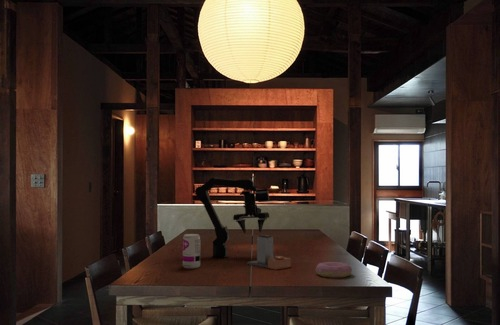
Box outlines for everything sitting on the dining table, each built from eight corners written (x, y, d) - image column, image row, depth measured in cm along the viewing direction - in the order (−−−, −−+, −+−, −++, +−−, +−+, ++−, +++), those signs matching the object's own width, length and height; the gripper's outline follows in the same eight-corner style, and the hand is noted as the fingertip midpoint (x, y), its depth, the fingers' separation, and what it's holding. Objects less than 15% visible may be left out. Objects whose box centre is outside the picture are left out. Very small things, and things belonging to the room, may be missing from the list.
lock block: (256, 262, 241) (256, 235, 242) (265, 261, 245) (265, 234, 245) (265, 263, 237) (265, 236, 237) (273, 262, 241) (273, 235, 241)
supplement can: (186, 269, 230) (186, 236, 231) (180, 266, 238) (180, 234, 238) (202, 267, 234) (203, 235, 234) (196, 264, 241) (196, 233, 242)
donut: (327, 280, 207) (327, 267, 207) (309, 273, 221) (309, 262, 221) (359, 277, 213) (359, 265, 213) (339, 271, 227) (339, 260, 227)
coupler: (247, 264, 243) (247, 253, 243) (262, 261, 249) (262, 251, 250) (275, 269, 229) (275, 258, 229) (290, 267, 236) (290, 256, 236)
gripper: (272, 200, 268) (275, 230, 267) (241, 202, 276) (244, 231, 276) (263, 202, 258) (265, 232, 257) (231, 204, 266) (234, 234, 266)
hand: (252, 232), depth 264 cm, fingers open, 9 cm apart
